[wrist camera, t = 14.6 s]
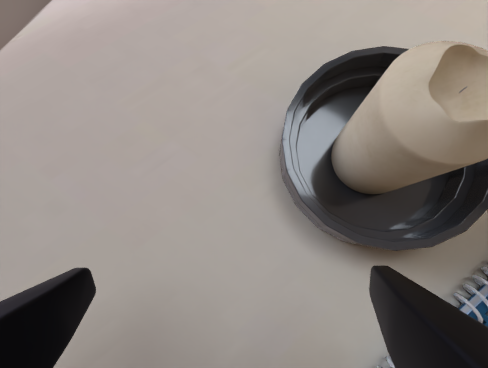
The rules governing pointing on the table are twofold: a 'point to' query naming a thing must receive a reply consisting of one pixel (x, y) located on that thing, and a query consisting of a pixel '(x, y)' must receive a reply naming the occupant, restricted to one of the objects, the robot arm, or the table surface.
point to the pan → (360, 204)
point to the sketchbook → (471, 303)
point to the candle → (417, 120)
